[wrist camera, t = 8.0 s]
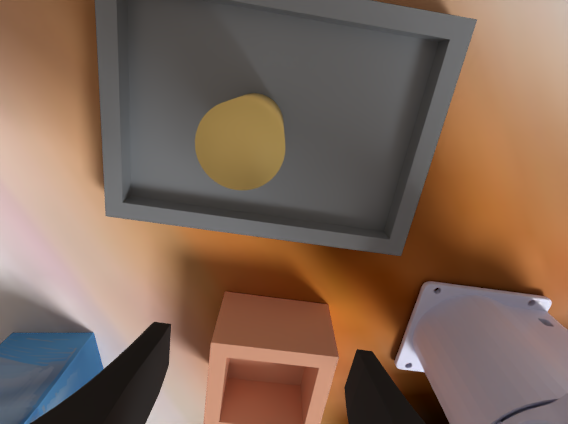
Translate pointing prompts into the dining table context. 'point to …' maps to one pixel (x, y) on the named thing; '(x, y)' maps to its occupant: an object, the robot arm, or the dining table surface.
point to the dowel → (241, 142)
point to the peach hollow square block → (270, 361)
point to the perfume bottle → (43, 372)
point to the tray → (294, 107)
